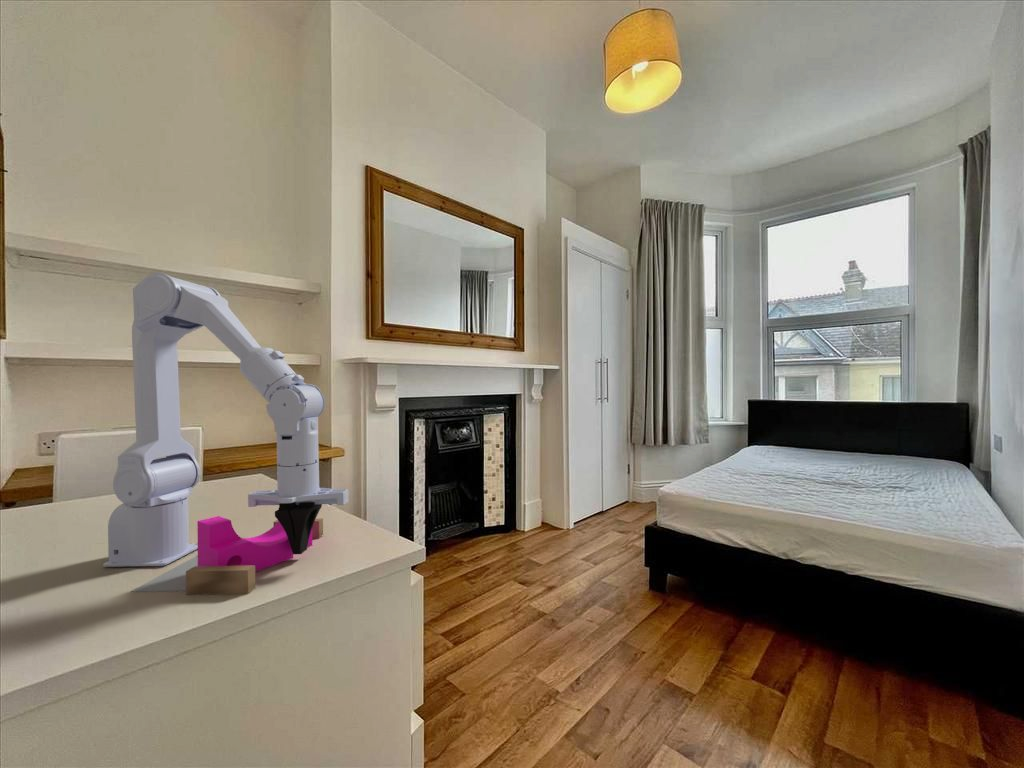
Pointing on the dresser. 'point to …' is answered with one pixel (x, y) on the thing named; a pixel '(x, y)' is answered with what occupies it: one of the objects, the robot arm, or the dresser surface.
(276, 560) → the toy block
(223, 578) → the pair of brown pieces
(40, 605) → the dresser surface
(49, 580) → the dresser surface
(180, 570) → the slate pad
